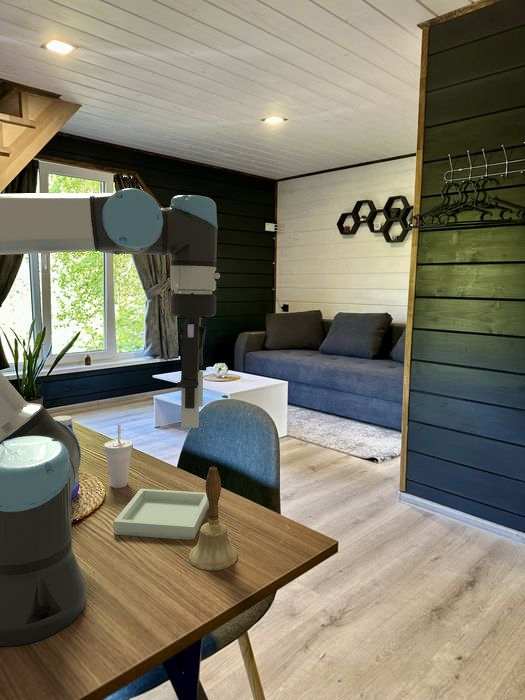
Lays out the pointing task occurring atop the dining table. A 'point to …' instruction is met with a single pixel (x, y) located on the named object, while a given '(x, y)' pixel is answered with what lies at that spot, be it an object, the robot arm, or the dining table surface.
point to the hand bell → (213, 533)
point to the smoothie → (118, 460)
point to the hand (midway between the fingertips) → (192, 416)
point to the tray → (163, 514)
